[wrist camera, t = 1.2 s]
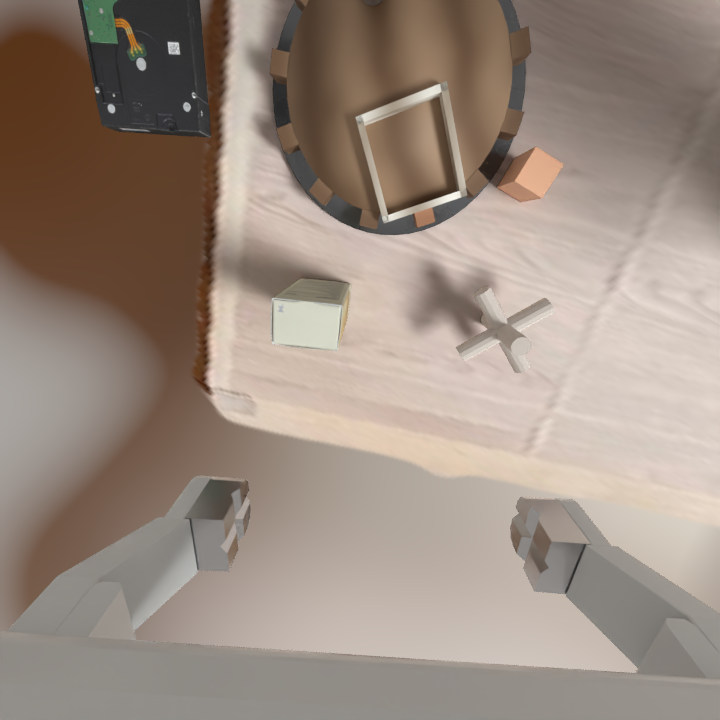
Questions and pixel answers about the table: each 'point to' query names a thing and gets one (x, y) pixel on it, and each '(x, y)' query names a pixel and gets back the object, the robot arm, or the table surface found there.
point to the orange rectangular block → (530, 175)
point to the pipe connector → (504, 329)
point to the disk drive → (148, 65)
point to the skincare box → (310, 314)
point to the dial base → (395, 227)
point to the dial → (398, 100)
